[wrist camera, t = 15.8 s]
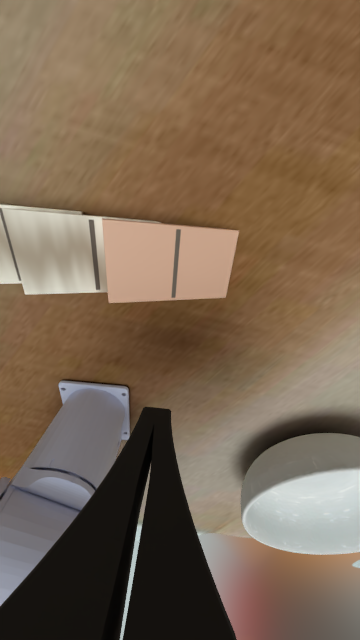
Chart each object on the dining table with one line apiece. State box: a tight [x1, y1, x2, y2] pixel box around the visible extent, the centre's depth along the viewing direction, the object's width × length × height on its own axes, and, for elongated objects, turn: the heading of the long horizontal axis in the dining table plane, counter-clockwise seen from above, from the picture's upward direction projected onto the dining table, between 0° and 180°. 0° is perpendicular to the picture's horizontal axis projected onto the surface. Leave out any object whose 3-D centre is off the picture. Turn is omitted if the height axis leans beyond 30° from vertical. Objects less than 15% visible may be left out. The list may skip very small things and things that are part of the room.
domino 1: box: [0, 204, 83, 284], centre depth 14 cm, size 5×2×9 cm
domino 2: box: [2, 208, 161, 295], centre depth 15 cm, size 5×2×9 cm
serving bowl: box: [241, 433, 360, 554], centre depth 26 cm, size 21×21×7 cm
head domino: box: [102, 218, 239, 303], centre depth 15 cm, size 5×2×9 cm
